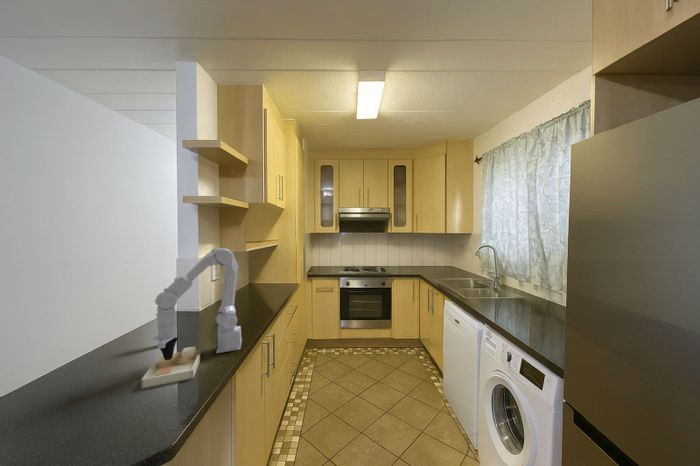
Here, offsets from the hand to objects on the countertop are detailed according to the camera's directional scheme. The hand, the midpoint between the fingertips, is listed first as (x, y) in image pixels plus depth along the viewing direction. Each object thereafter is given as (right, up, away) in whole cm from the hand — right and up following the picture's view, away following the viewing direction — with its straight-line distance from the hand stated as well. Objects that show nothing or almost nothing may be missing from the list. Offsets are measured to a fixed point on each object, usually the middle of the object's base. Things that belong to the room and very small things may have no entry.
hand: (168, 359), depth 99 cm
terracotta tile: (+3, -1, -7) cm, 7 cm away
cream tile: (+5, 0, +5) cm, 7 cm away
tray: (+5, -3, -5) cm, 8 cm away
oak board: (+2, -3, +4) cm, 5 cm away
